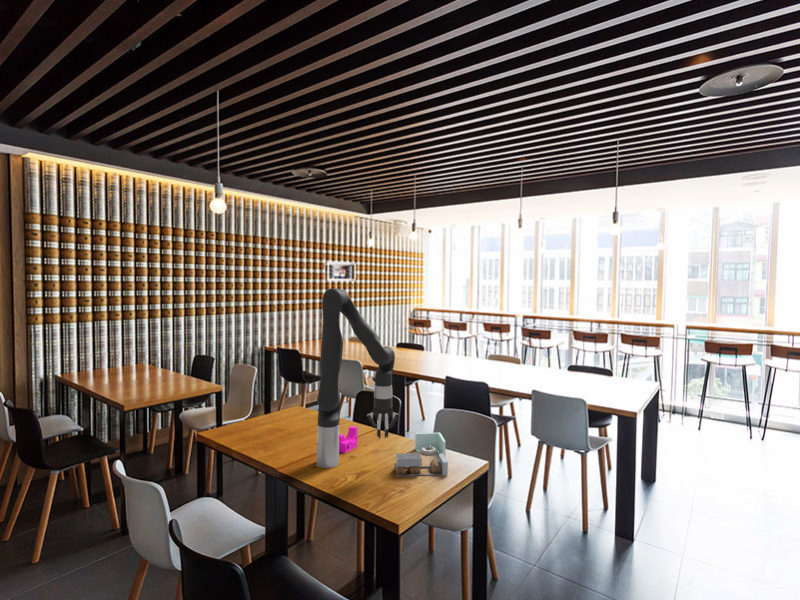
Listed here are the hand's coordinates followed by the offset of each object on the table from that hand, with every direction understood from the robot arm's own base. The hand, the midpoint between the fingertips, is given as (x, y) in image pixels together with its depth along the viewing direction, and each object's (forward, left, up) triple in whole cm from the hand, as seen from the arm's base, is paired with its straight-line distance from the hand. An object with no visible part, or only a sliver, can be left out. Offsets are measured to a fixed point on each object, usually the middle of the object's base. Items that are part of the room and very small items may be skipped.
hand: (382, 437), depth 178 cm
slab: (+11, 0, -11) cm, 16 cm away
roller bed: (+15, 0, -15) cm, 21 cm away
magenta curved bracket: (-14, +31, -15) cm, 37 cm away
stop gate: (+26, 0, -15) cm, 30 cm away
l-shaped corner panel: (+24, +21, -16) cm, 35 cm away
